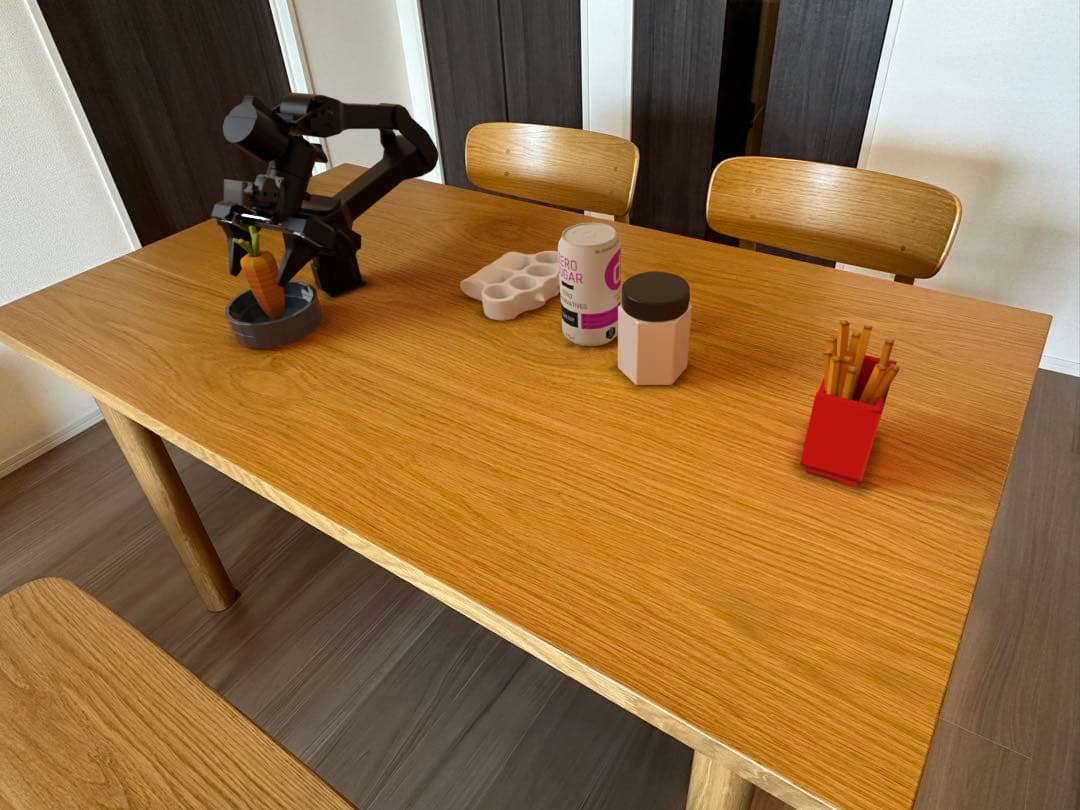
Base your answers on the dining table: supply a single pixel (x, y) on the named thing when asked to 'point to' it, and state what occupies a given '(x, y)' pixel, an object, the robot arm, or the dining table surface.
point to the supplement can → (590, 283)
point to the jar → (654, 328)
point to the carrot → (262, 276)
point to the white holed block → (515, 283)
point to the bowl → (263, 331)
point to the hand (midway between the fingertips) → (256, 280)
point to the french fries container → (847, 407)
